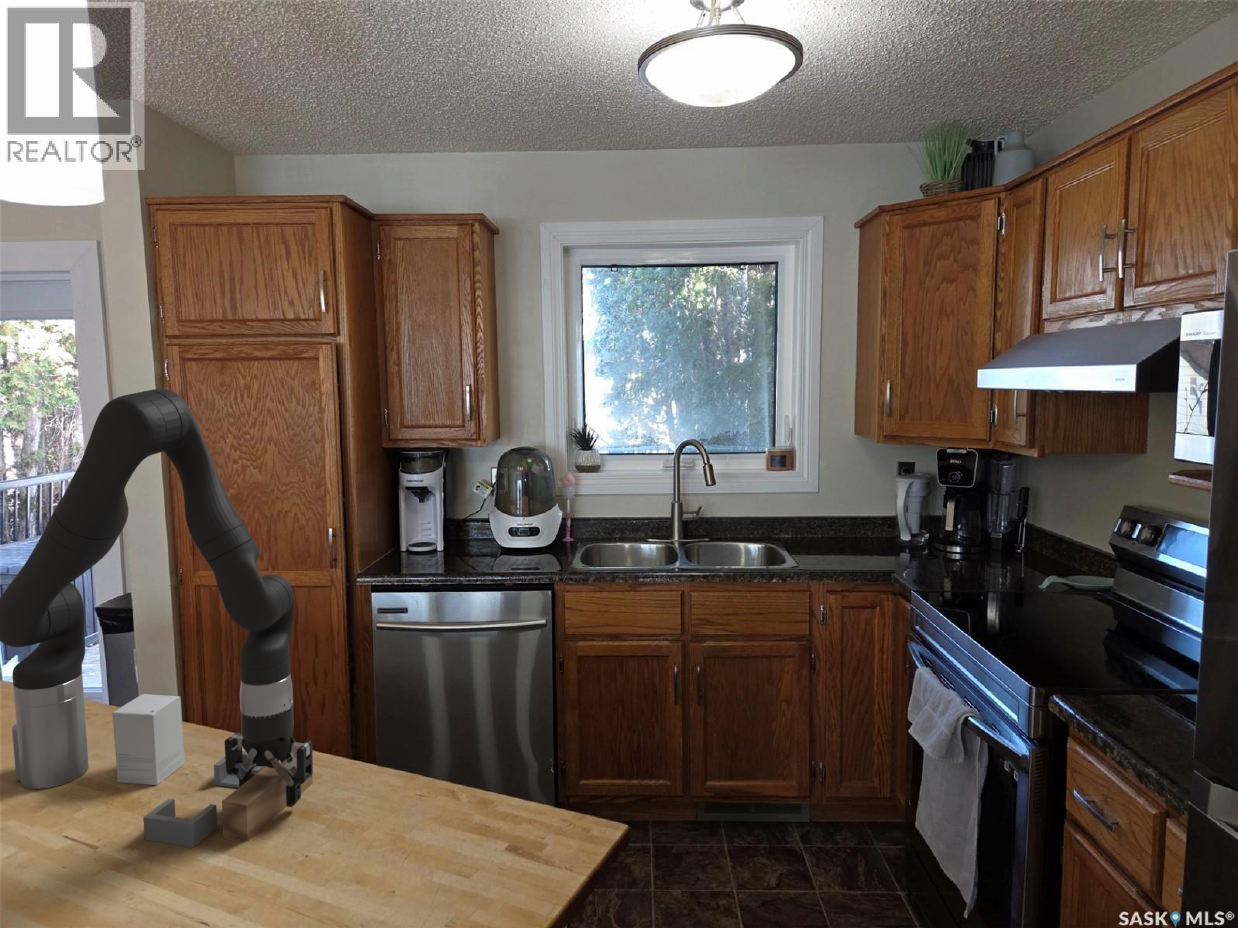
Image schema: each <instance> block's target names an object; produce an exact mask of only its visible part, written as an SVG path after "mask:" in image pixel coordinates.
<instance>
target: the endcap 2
mask: <svg viewBox="0 0 1238 928" xmlns="http://www.w3.org/2000/svg"><path fill="white" fill-rule="evenodd" d="M242 755H243V762H244V760H245V759H246V757H247V755H248V754H247V752H246V751H245V750H242ZM265 767H266V766H262V767H260V766H255V768H254V769H253V771H252V772H251V773H254V776H255V775H256V774H257V773H259V772H260V771H261V770H262V769H264V768H265ZM213 772H214V776H213V777H214V785H215V786H220V787H229V788H236V789H238V788H239V779H238V778H237V776H236V775H235V774H231V775H229V774H228V773H227V772H226V759H225V756H224V757H222V758H221V759H220V760H219V761H217V762H216V763H214V764H213Z"/></svg>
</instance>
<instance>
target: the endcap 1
mask: <svg viewBox="0 0 1238 928" xmlns="http://www.w3.org/2000/svg"><path fill="white" fill-rule="evenodd" d="M175 802H176V801H175V798H167V799H166V800H165V801H163V802H162V803H161V804H159V805H158V806H156V807H155V808H154V809H152V810H151V811H150V812H148V813H147V814H146V815H144V816H143V831H144V832H143V836H144V840H145V841H150V842H157V843H158V842H159V843H164V844H171V845H177V846H183V847H184V846H185V847H188V848H189V847H191V848H195V847H196V846H197V845H198V844H199V843H201V842H202V841H203V840H204V839H205V838H206V837H208V835H210V834H211V833H212V832H213V831H214V830H216V829H217V828H218V813H217V811H218V810H217V804H209V805H208V806H206V807H205V808H204V809H202V811H200V812H199V813H198V814H196V815H195V816H194V817H193V818H191V819H190V818H184V817H179V816H177V817H176V803H175Z"/></svg>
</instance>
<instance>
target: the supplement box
mask: <svg viewBox="0 0 1238 928" xmlns="http://www.w3.org/2000/svg"><path fill="white" fill-rule="evenodd" d="M111 714H112V723H113V736H114V750H115V751H114V753H115V763H116V764H115V765H116V773H117V776H116V777H117V783H124V784H137V785H139V784H140V785H150V786H151V785H153V786H157V785H159V784H161V783H162V782H164V780H166V779H167V778H168V777H169V776H170V775H172V774H173V773H174V772H176V771H177V770H178V769H180V768H181V767H182V766H183V765H184V764H185V749H184V734H183V733H184V732H183V717H182V715H183V714H182V700H181V695H180V696H178V695H166V694H165V695H163V694H162V695H161V694H150V693H149V694H147V693H142V694H140V695H139V696H137V697H135V698H133V699H132V700H130V701H128V702H127V703H125V704H123V705H122V706H120V707H119V708H117V709H116V710H114V711H112V713H111Z"/></svg>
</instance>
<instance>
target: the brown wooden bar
mask: <svg viewBox="0 0 1238 928" xmlns="http://www.w3.org/2000/svg"><path fill="white" fill-rule="evenodd" d="M292 753H293V755H294V756H295V753H294V752H293V751H292ZM296 759H297V758H296ZM282 764H283V765H284V766H285V765H286V764H287V760H285V761H284V762H283V763H282ZM289 771H290V770H289ZM290 773H291V771H290ZM291 774H292V773H291ZM292 775H293V774H292ZM313 784H314V782H313V774H312V775H311V776H310V777H309V778H308V779H307V780H306V781H305V782H304V783H303V784H301V795H302V794H303V793H304V792H305V791H306V790H307V789H308V788H310V787H311V786H313ZM286 786H287V783H286V781H285V780H284V778H283V776H282V775H278V773H277V772H276V770H275V768H269V767H267V766H266V767H265V768H264V769H262V770H261V771H260V772H259V773H257V774H256V775H255V776H253V777H252V778H251V779H250V780H248V781H247V782H246V783H244V784H243V785H242V786H240V787H239V788H236V789H235V790H234V791H232V792H231V793H230V794H229V795H227V796H226V797H225V798H223V800H221V814H222V835H223V838H226V839H234V840H239V841H244V842H249V841H250V840H251V839H252V838H253V837H255V836H256V835H257V834H258V833H259V832H260V831H261V830H262V829H264V827H266V826H267V825H268V824H269V823H270V822H271V821H272V820H273V819H275V818H276V817H277V816H278V815H279V814H280V813H281V812H283V811H284V810H285V809H286V808H288V807H287V804H286Z"/></svg>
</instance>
